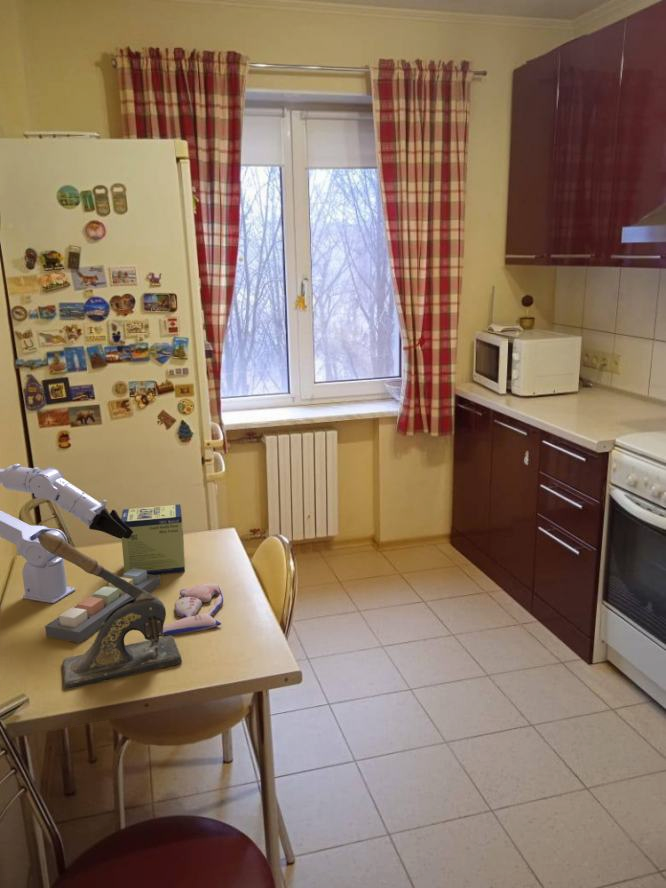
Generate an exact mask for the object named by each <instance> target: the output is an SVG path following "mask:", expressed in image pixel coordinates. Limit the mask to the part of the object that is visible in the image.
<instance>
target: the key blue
mask: <svg viewBox="0 0 666 888" xmlns="http://www.w3.org/2000/svg"><path fill="white" fill-rule="evenodd" d="M122 576H123V578H130V579H133V584H136V585H139V584H140V583H141V582H143V581H144V580H146V579H147V570H144V569H137V568H132V569H131V570H129V571H128V572H126V573H125V572H124V573H123V575H122Z"/></svg>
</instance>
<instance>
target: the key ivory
mask: <svg viewBox="0 0 666 888" xmlns="http://www.w3.org/2000/svg"><path fill="white" fill-rule="evenodd" d="M58 617H59V618H60V625H63V626H69V627H74V628H76V627H77V626H79V625H80V624H82V623H83V622H85V621H86V620H88V618H87V610H85V609H79V608H74V606H73V607H70V608H68V609H67V610H65V611H64V612H63V613H60V614H59V615H58Z"/></svg>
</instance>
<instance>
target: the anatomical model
mask: <svg viewBox="0 0 666 888" xmlns="http://www.w3.org/2000/svg"><path fill="white" fill-rule="evenodd" d="M218 594H219V595H218ZM215 595H218V597H216V598H215V599H214V602H213V605H212V607H211V608H210V609H209V610H208V611H207V612H206V613H200V614H197V613H198V611H199V610H200V608H201V606H202V604H203V603H209V602H210V601H211V600H212V597H214V596H215ZM179 596H180V597H181V598H179V599H178V600H177V601H175V603H174V610H175V614H176V615H177V616H178V617H181V618H180V619H178V620H175V621H173V622H170V623H168V624H166V625H163V635H162V636H170V635H171V636H173V635H181V634H187V633H193V632H198V631H199V632H200V631H206V630H208V629H212V628H215V627H219V626H221V625H222V622H220V621H218V620H217V619H215V618H213V616H212V615H215V613H216V612H217V610H218V609H219V608H221V606H222V605H223V604H224V597H223V594H222V591H221V589H220V586H219V584H218V583H204V584H199V585H196V586H195V585H194V586H193V587H190V588H186V589H185V588H183V589H180V591H179Z"/></svg>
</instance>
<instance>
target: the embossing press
mask: <svg viewBox="0 0 666 888" xmlns="http://www.w3.org/2000/svg"><path fill="white" fill-rule="evenodd" d="M38 540H39V542H40V544H41V545H42V546H43V547H44V548H45V549H46V550H47V551H48V552H50V553H52V554H54V555H56V556H58V557H60V558H63V559H64V561H67V562H69V563H72V564H73V565H75V566H77V567H78V568H80V569H81V570H83V571H84V572H85V573H87V574H90V575H93V576H95V577H99V578H101V579H102V580H104V581H106V582H107V583H108V584H109V583H111V584H112V585H114V586H115V587H117V588H119V589H121V590H122V591H123V592H125V593H127V594H128V595H130V596H132V597H133V599H131V600H129V601H127V602H125V603H123V604H122V605H120V606H118V607H117V608H116V609H114V610H113V611H112V612H111V613H110V614H109V615H108V617H107V618H106V619H105V621H104V623H102V625H101V628H100V629H99V630H98V631H97V632H98V633H97V635H96V637H95V639H94V641H93V643H92V644H91V645H90V647H89V648H88V649H87V650H86V651H85V652H84V653H82V654H77V655H75V656H74V655H73V656H71V657H65V658H63V659H62V666H61V667H62V673H63V688H64V690H71V689H75V687H76V688H80V687H85V686H88V685H94V684H99V683H102V682H107V681H111V680H117V679H120V678H124V677H129V676H132V675H136V674H141V673H146V672H149V671H153V670H157V669H162V668H167V667H171V666H175V665H178V664H182V662H183V660H182V656H181V653H180V652H179V648H178V645H177V644H176V640H175V638H174V636H173V635H163V627H164V626H165V621H166V617H167V616H166V615H167V611H166V607H165V605H164V603H163V602H162V601H161V600H160V599H159V598H158V597H156V596H153V594H152V593H151V592H150V593H149V592H147V591H145V590H143V589H140V588H138V587H136V586H135V585H133V584H131V583H129V582H127V581H126V580H124V579H122V578H120V577H121V576H119V575H117V574H115V573H113V572H112V571H110V570H108V569H106V568H105V567H103V565H100V564H99V563H98V561H97V560H96V559H94V558H92V557H90V556H88V555H86V554H85V553H83V552H81V551H80V550H78V549H76V548H75V547H74V546H73V545H72V544H70V543H69V542H68V543H67V542H66V541H65V540H63V539H62V538H60V537H58V536H56V535H53V534H50V533H41V534H40V535H39V536H38ZM132 631H138V632H140V633H141V634H142V635H143V638H144V639H145V640H143V641H139V642H134V643H129V644H125V637H126V635H127V634H128V633H129V632H132Z"/></svg>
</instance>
